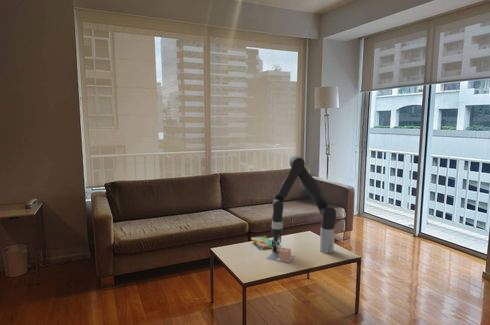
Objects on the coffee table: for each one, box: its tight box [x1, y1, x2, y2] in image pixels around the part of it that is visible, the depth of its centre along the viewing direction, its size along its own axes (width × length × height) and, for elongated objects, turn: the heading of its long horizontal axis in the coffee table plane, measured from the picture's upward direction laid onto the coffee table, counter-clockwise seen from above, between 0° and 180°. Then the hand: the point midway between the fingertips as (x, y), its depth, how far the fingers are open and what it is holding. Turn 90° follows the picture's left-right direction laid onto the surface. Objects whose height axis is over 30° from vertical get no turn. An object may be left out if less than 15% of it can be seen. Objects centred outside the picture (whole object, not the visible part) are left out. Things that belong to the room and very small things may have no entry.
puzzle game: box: [250, 235, 272, 250], centre depth 243 cm, size 12×5×20 cm
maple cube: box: [271, 244, 282, 253], centre depth 230 cm, size 5×5×5 cm
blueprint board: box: [265, 251, 296, 265], centre depth 218 cm, size 16×13×2 cm
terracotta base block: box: [278, 247, 292, 261], centre depth 216 cm, size 6×6×6 cm
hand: (276, 250), depth 230 cm, fingers closed on maple cube, 5 cm apart
